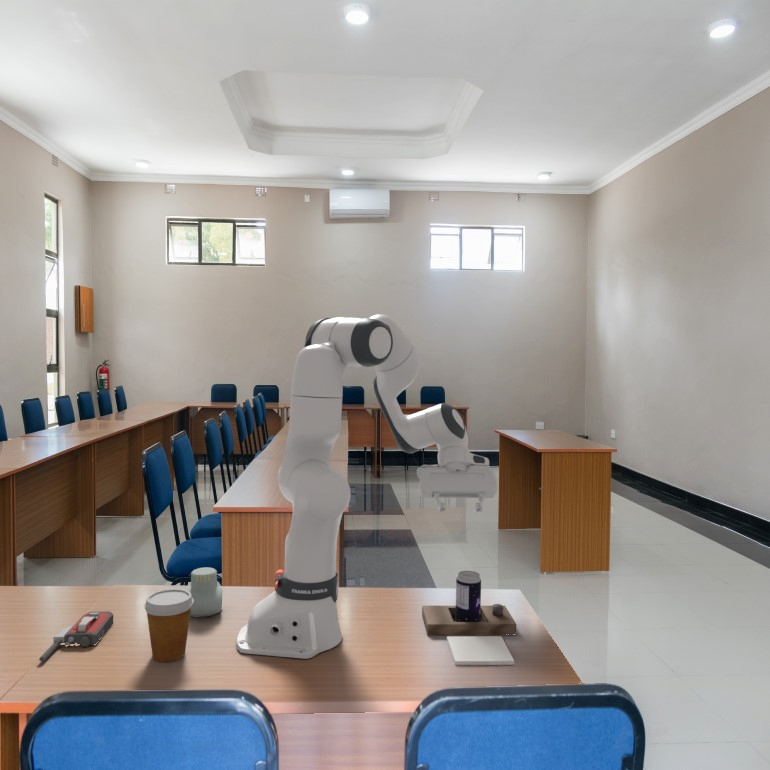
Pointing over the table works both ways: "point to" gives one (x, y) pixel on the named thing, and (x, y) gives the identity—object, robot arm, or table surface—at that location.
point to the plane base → (492, 617)
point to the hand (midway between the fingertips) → (460, 510)
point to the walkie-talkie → (83, 631)
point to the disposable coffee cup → (168, 623)
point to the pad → (479, 650)
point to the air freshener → (205, 592)
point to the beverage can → (468, 597)
